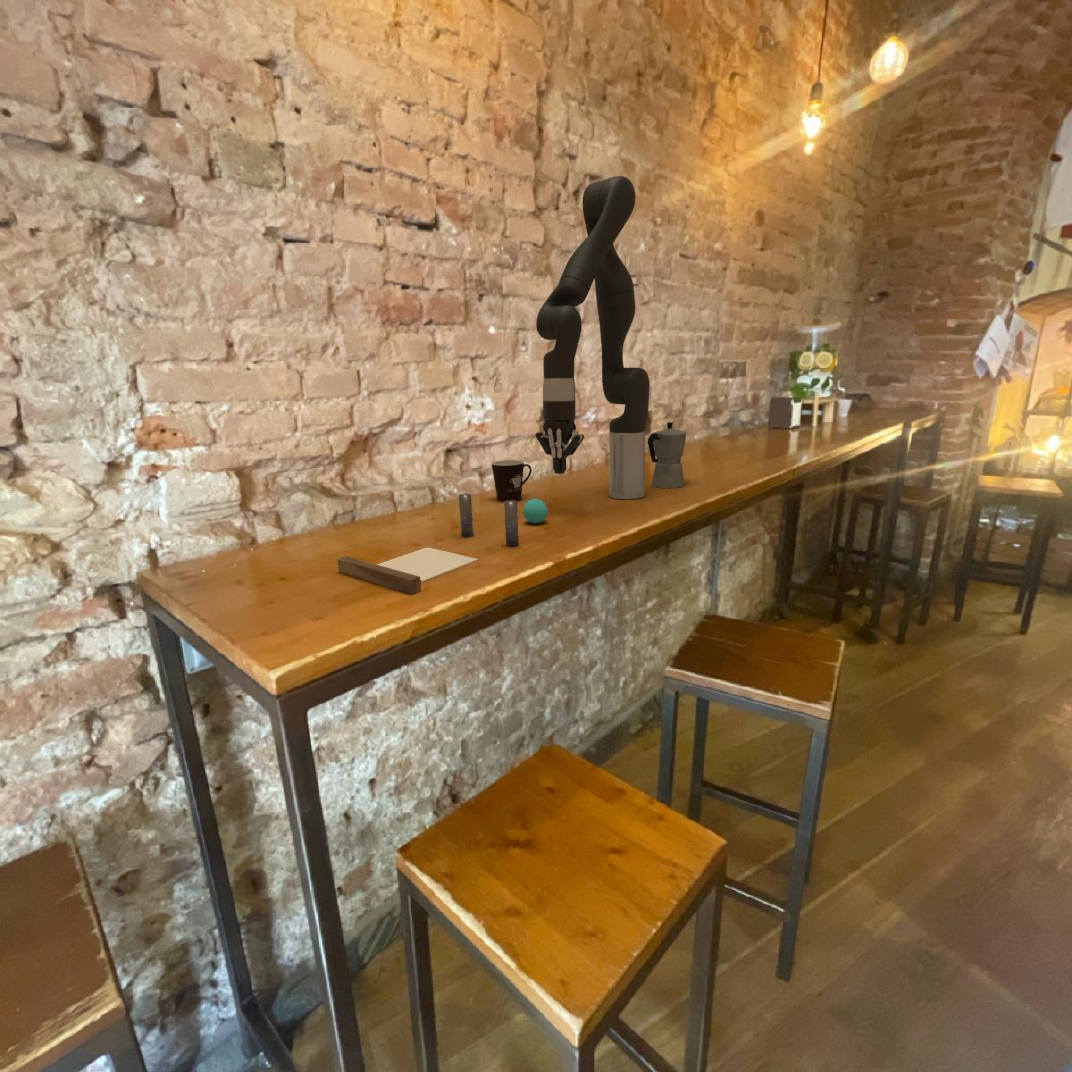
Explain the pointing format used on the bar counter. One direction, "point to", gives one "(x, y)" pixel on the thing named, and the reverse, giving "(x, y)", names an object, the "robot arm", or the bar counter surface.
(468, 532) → the post
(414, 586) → the wall
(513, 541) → the post
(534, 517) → the ball
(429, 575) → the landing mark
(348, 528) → the bar counter surface
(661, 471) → the coffeepot
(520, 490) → the coffee mug
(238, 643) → the bar counter surface
